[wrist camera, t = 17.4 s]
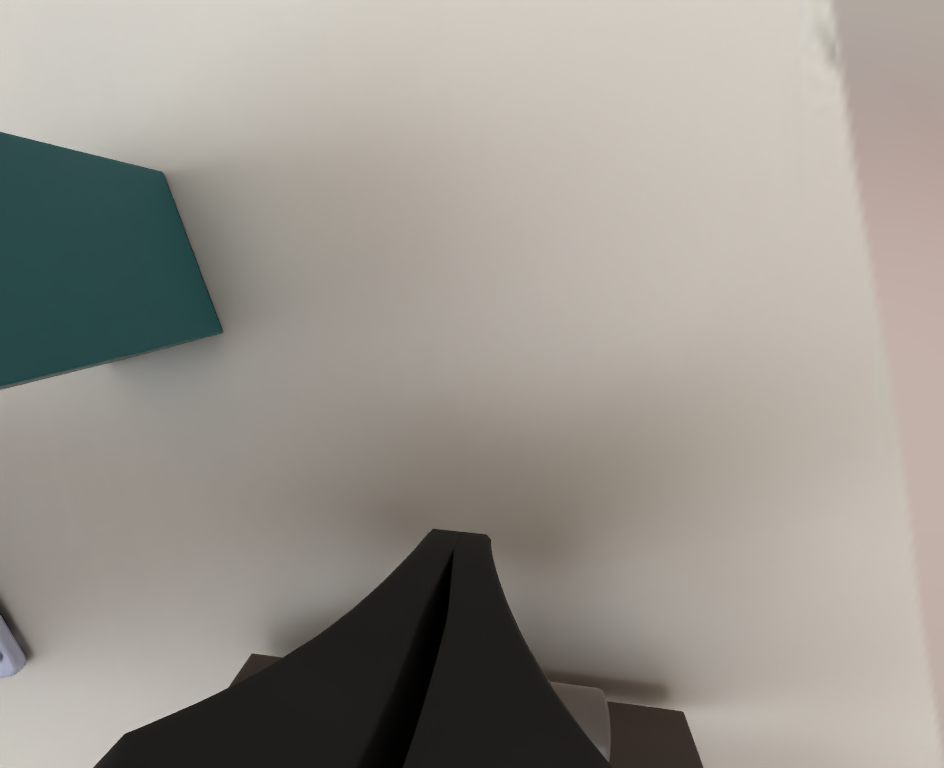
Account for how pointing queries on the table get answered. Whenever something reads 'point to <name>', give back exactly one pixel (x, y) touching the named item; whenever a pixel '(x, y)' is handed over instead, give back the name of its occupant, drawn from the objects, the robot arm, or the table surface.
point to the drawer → (602, 725)
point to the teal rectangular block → (90, 263)
